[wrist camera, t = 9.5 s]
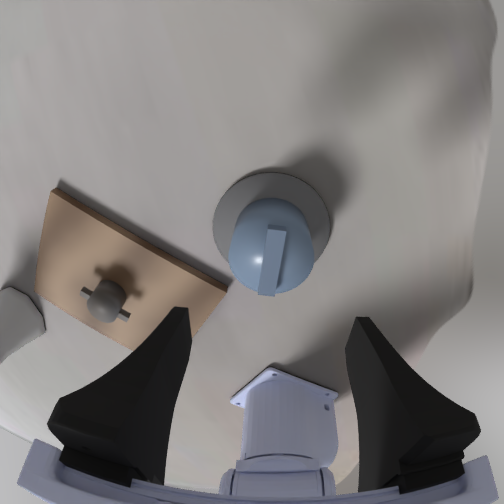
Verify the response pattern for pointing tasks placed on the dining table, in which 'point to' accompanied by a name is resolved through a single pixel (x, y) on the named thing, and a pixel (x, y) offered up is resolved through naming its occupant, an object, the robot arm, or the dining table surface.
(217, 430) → the dining table surface
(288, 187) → the coaster
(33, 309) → the flask
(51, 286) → the post base
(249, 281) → the cap
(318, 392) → the robot arm
